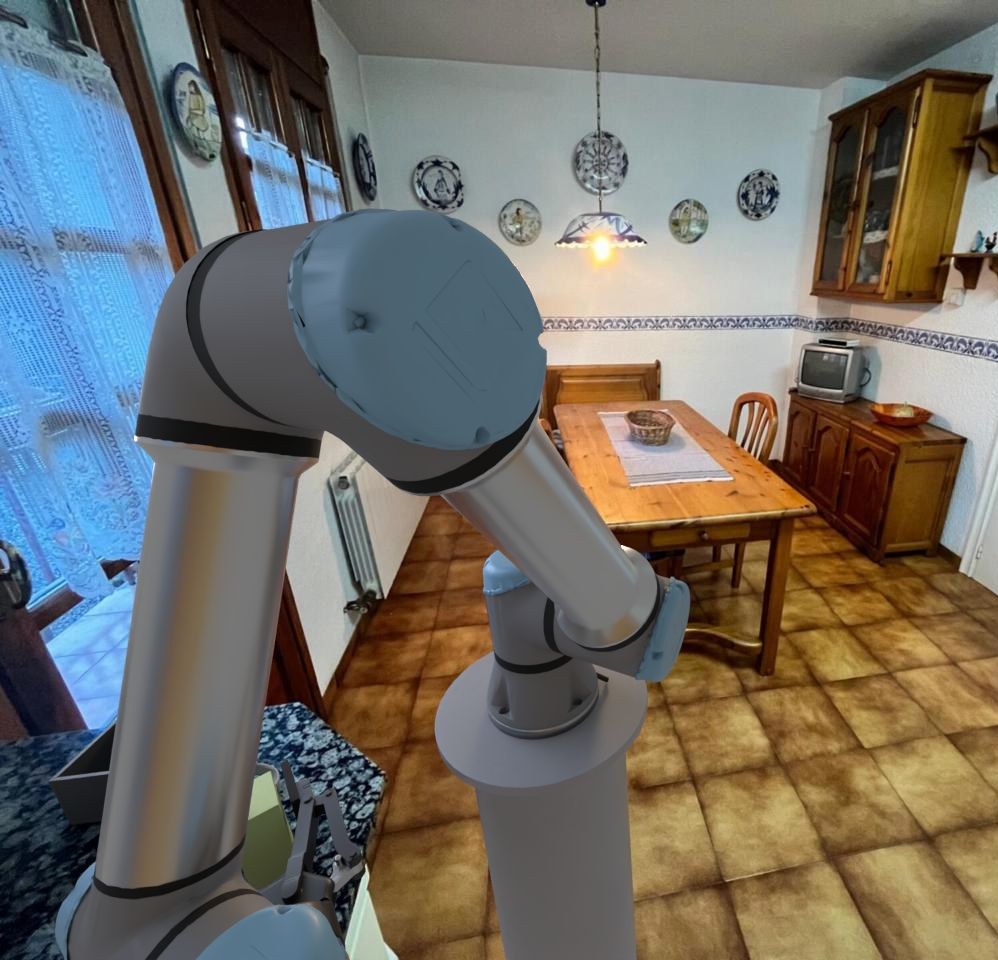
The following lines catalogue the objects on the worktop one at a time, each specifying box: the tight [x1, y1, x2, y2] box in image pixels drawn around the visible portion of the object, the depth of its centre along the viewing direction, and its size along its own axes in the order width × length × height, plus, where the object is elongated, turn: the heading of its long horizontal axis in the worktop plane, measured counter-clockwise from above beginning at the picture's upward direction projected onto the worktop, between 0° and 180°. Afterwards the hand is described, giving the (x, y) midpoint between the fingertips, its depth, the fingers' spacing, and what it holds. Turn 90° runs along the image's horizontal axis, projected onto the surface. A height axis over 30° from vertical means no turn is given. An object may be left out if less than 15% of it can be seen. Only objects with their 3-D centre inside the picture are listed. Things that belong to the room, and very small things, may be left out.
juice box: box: [241, 771, 294, 890], centre depth 51 cm, size 4×5×14 cm
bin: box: [47, 718, 117, 826], centre depth 62 cm, size 10×10×6 cm
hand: (252, 788), depth 55 cm, fingers open, 6 cm apart
